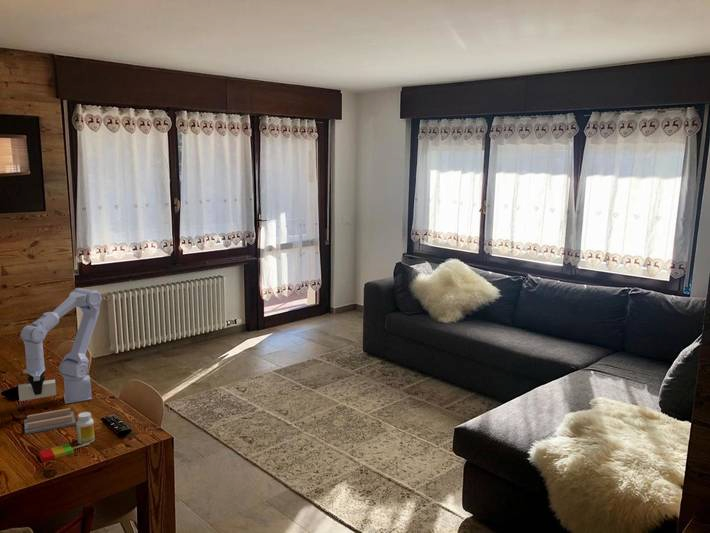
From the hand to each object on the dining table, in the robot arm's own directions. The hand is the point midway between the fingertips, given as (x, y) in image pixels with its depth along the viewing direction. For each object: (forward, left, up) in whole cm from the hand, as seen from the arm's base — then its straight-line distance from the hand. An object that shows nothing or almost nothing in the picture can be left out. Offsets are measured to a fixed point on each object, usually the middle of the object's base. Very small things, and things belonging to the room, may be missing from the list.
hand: (37, 392), depth 216 cm
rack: (-3, +10, -9) cm, 14 cm away
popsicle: (-6, +34, -9) cm, 36 cm away
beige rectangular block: (0, 0, -2) cm, 2 cm away
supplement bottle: (-13, +29, -9) cm, 33 cm away
